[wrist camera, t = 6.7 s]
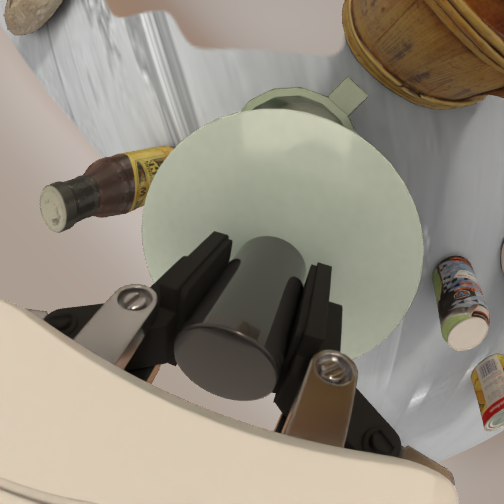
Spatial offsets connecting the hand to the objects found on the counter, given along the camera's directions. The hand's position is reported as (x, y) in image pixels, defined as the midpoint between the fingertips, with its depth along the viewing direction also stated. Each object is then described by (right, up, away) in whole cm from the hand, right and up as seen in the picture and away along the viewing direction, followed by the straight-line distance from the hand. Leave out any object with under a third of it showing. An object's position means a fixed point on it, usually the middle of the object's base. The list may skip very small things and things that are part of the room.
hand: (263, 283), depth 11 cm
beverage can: (+25, -2, +21) cm, 33 cm away
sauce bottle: (-11, +13, +25) cm, 30 cm away
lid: (0, +1, +1) cm, 2 cm away
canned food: (+43, -20, +25) cm, 54 cm away
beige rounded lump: (-38, +50, +15) cm, 65 cm away
